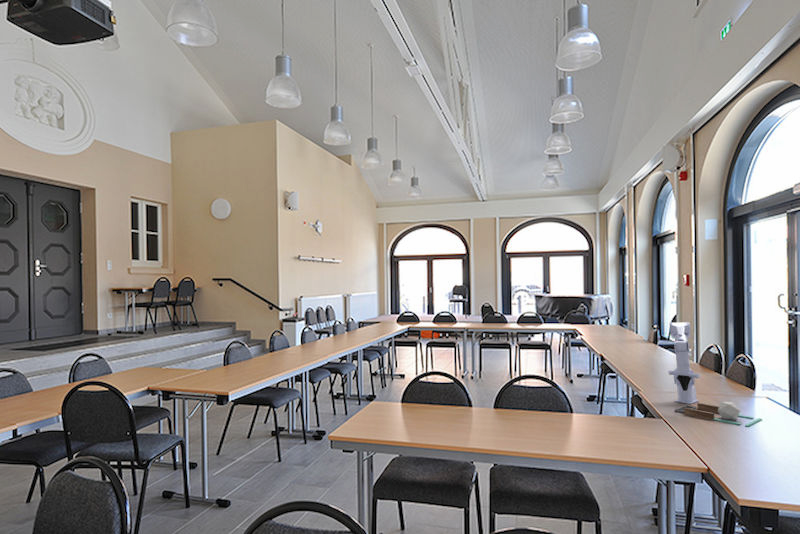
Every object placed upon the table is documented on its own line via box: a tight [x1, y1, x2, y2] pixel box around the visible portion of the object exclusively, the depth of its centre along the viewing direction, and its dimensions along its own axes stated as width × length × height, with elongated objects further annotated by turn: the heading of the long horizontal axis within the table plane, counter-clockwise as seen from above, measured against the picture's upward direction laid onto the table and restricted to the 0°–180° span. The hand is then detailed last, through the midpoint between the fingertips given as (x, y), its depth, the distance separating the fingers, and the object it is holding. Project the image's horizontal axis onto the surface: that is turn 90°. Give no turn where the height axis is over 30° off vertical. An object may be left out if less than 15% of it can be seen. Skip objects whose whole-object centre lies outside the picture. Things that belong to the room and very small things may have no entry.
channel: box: [684, 402, 720, 421], centre depth 228 cm, size 15×13×3 cm
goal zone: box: [712, 414, 763, 428], centre depth 216 cm, size 15×14×1 cm
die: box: [718, 401, 741, 421], centre depth 219 cm, size 8×9×10 cm
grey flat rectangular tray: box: [674, 404, 698, 414], centre depth 236 cm, size 12×5×1 cm, turn 122°
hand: (685, 390), depth 236 cm, fingers closed
